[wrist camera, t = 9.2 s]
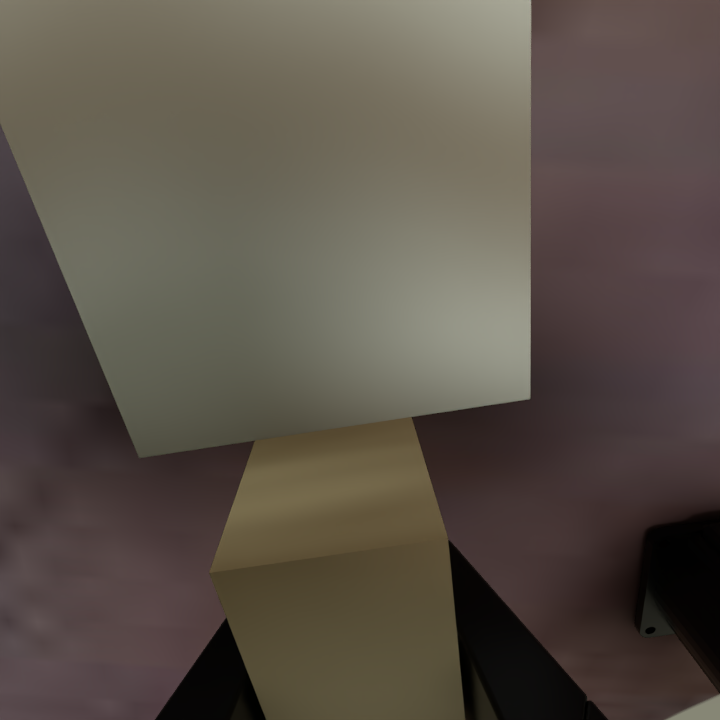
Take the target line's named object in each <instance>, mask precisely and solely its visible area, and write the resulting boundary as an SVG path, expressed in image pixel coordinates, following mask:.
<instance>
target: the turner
mask: <svg viewBox="0 0 720 720" xmlns="http://www.w3.org/2000/svg"><path fill="white" fill-rule="evenodd" d="M0 124H1V126H2V129H3V131H4V134H5V136H6V138H7V141H8V143H9V146H10V148H11V150H12V153H13V155H14V158H15V160H16V162H17V165H18V167H19V170H20V172H21V175H22V177H23V179H24V182H25V184H26V187H27V189H28V191H29V194H30V196H31V199H32V201H33V203H34V206H35V208H36V211H37V213H38V215H39V218H40V220H41V223H42V225H43V228H44V230H45V232H46V235H47V237H48V240H49V242H50V244H51V247H52V249H53V252H54V254H55V256H56V259H57V261H58V264H59V266H60V268H61V271H62V273H63V276H64V278H65V281H66V283H67V285H68V288H69V290H70V293H71V295H72V297H73V300H74V302H75V305H76V307H77V309H78V312H79V314H80V317H81V319H82V322H83V324H84V326H85V329H86V331H87V334H88V336H89V338H90V341H91V343H92V346H93V348H94V350H95V353H96V355H97V358H98V360H99V362H100V365H101V367H102V370H103V372H104V375H105V377H106V379H107V382H108V384H109V387H110V389H111V391H112V394H113V396H114V399H115V401H116V403H117V406H118V408H119V411H120V413H121V415H122V418H123V420H124V423H125V425H126V428H127V430H128V432H129V435H130V437H131V440H132V442H133V444H134V447H135V449H136V452H137V454H138V456H139V458H143V457H149V456H156V455H163V454H169V453H176V452H183V451H189V450H196V449H202V448H209V447H216V446H222V445H229V444H236V443H242V442H249V441H255V442H254V445H253V448H252V451H251V453H250V456H249V459H248V462H247V465H246V468H245V471H244V474H243V477H242V479H241V482H240V485H239V488H238V491H237V494H236V497H235V500H234V503H233V505H232V508H231V511H230V514H229V517H228V520H227V523H226V526H225V528H224V531H223V534H222V537H221V540H220V543H219V546H218V549H217V552H216V554H215V557H214V560H213V563H212V566H211V569H210V572H209V574H210V576H211V579H212V582H213V584H214V587H215V589H216V592H217V594H218V597H219V600H220V602H221V605H222V607H223V610H224V612H225V615H226V618H227V620H228V623H229V625H230V628H231V631H232V633H233V636H234V638H235V641H236V643H237V646H238V649H239V651H240V654H241V656H242V659H243V661H244V664H245V667H246V669H247V672H248V674H249V677H250V680H251V682H252V685H253V687H254V690H255V692H256V695H257V698H258V700H259V703H260V705H261V708H262V710H263V713H264V716H265V718H266V720H465V713H464V703H463V692H462V681H461V671H460V660H459V650H458V639H457V628H456V618H455V607H454V596H453V586H452V575H451V565H450V554H449V543H448V537H447V533H446V530H445V527H444V523H443V520H442V517H441V513H440V510H439V507H438V503H437V500H436V497H435V493H434V490H433V487H432V483H431V480H430V477H429V474H428V470H427V467H426V464H425V460H424V457H423V454H422V450H421V447H420V444H419V440H418V437H417V434H416V430H415V427H414V424H413V420H412V417H414V416H421V415H428V414H434V413H441V412H448V411H454V410H461V409H467V408H474V407H481V406H487V405H494V404H500V403H507V402H514V401H520V400H527V399H530V350H531V0H0Z"/></svg>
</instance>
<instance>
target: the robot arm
mask: <svg viewBox="0 0 720 720" xmlns="http://www.w3.org/2000/svg"><path fill="white" fill-rule="evenodd" d="M448 543H449V554H450V565H451V575H452V586H453V596H454V607H455V618H456V628H457V639H458V650H459V660H460V671H461V681H462V692H463V703H464V713H465V719H466V720H608V719H607V718H606V717H605V716H604V714H603V713H602V712H601V711H600V710H599V709H598V708H597V706H596V705H595V704H594V703H593V702H592V701H587V696H586V694H585V693H584V692H583V691H582V690H581V689H580V688H579V686H578V685H577V684H576V683H575V682H574V681H573V680H572V678H571V677H570V676H569V675H568V674H567V673H566V672H565V671H564V669H563V668H562V667H561V666H560V665H559V664H558V663H557V661H556V660H555V659H554V658H553V657H552V656H551V655H550V654H549V652H548V651H547V650H546V649H545V648H544V647H543V646H542V644H541V643H540V642H539V641H538V640H537V639H536V638H535V637H534V635H533V634H532V633H531V632H530V631H529V630H528V629H527V627H526V626H525V625H524V624H523V623H522V622H521V621H520V619H519V618H518V617H517V616H516V615H515V614H514V613H513V612H512V610H511V609H510V608H509V607H508V606H507V605H506V604H505V602H504V601H503V600H502V599H501V598H500V597H499V596H498V595H497V593H496V592H495V591H494V590H493V589H492V588H491V587H490V585H489V584H488V583H487V582H486V581H485V580H484V579H483V578H482V576H481V575H480V574H479V573H478V572H477V571H476V570H475V568H474V567H473V566H472V565H471V564H470V563H469V562H468V561H467V559H466V558H465V557H464V556H463V555H462V554H461V553H460V551H459V550H458V549H457V548H456V547H455V546H454V545H453V544H452V542H451V541H449V540H448ZM635 627H636V629H637V630H638V632H639V633H640V635H641V636H642V637H645V638H647V637H656V636H663V635H670V634H676V636H677V637H678V638H679V640H680V641H681V642H682V644H683V645H684V646H685V648H686V649H687V650H688V652H689V653H690V654H691V656H692V657H693V658H694V660H695V661H696V662H697V664H698V665H699V666H700V668H701V669H702V670H703V672H704V673H705V674H706V676H707V677H708V678H709V680H710V681H711V682H712V684H713V685H714V686H715V688H716V689H717V690H718V692H719V693H720V519H719V520H712V521H706V522H699V523H692V524H685V525H678V526H671V527H664V528H658V529H655V530H653V531H652V532H650V533H649V535H648V536H647V539H646V546H645V553H644V561H643V568H642V575H641V582H640V589H639V596H638V603H637V611H636V618H635ZM155 720H266V718H265V716H264V713H263V710H262V708H261V705H260V703H259V700H258V698H257V695H256V692H255V690H254V687H253V685H252V682H251V680H250V677H249V674H248V672H247V669H246V667H245V664H244V661H243V659H242V656H241V654H240V651H239V649H238V646H237V643H236V641H235V638H234V636H233V633H232V631H231V628H230V625H229V623H228V620H227V618H226V619H225V620H224V622H223V623H222V624H221V626H220V627H219V629H218V630H217V632H216V633H215V634H214V636H213V637H212V639H211V640H210V642H209V643H208V644H207V646H206V647H205V649H204V650H203V652H202V653H201V655H200V656H199V657H198V659H197V660H196V662H195V663H194V665H193V666H192V667H191V669H190V670H189V672H188V673H187V675H186V676H185V677H184V679H183V680H182V682H181V683H180V685H179V686H178V687H177V689H176V690H175V692H174V693H173V695H172V696H171V697H170V699H169V700H168V702H167V703H166V705H165V706H164V707H163V709H162V710H161V712H160V713H159V715H158V716H157V717H156V719H155Z"/></svg>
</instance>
